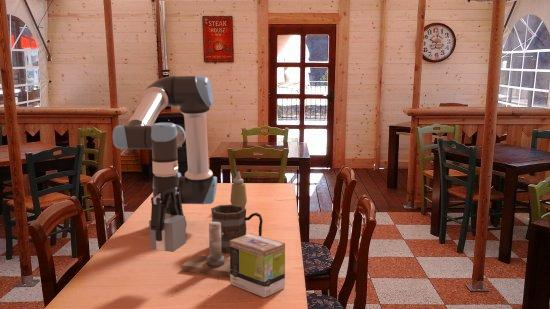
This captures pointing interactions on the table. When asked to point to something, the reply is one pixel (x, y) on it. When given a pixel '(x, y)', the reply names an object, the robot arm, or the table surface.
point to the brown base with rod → (215, 261)
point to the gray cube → (171, 233)
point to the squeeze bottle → (238, 192)
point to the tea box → (257, 264)
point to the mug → (232, 223)
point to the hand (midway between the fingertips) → (168, 245)
